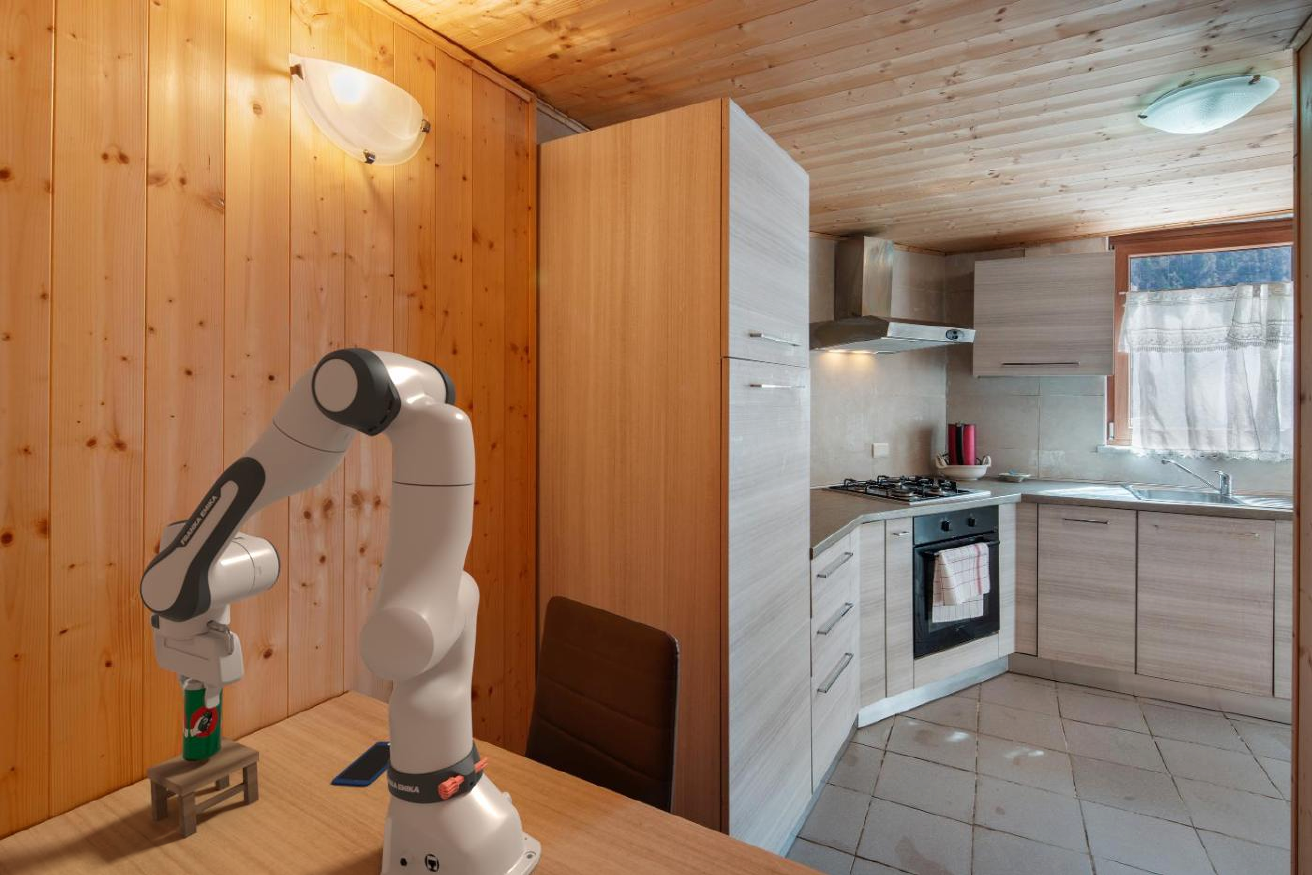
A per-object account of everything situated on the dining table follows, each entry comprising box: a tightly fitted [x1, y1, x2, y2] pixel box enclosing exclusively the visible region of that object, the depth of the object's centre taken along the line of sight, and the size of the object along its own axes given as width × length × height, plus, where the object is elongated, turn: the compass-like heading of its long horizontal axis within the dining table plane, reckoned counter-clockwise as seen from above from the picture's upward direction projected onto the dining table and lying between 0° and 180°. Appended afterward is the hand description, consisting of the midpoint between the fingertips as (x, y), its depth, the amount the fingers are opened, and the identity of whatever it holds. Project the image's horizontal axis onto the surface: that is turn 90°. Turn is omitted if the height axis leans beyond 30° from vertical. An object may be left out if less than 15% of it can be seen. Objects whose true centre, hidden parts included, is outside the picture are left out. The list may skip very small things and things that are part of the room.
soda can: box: [181, 679, 224, 761], centre depth 99 cm, size 5×5×12 cm
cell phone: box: [330, 741, 390, 788], centre depth 112 cm, size 7×14×1 cm, turn 171°
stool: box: [146, 736, 260, 839], centre depth 100 cm, size 11×11×8 cm
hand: (200, 702), depth 99 cm, fingers closed on soda can, 5 cm apart
